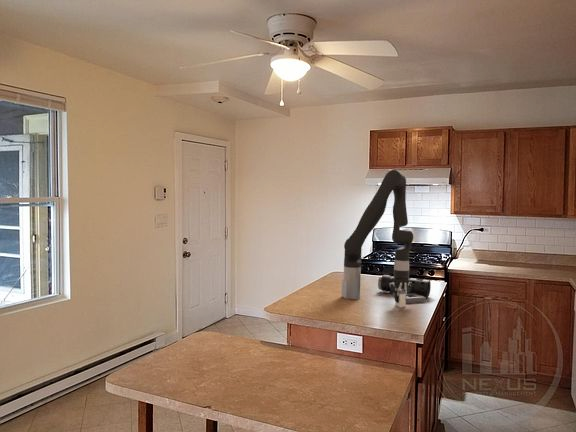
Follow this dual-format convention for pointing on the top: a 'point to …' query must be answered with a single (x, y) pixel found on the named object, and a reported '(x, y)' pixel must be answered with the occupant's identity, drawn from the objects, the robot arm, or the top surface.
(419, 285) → the muzzle brake
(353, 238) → the robot arm
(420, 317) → the top surface
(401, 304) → the plug
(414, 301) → the outlet block
